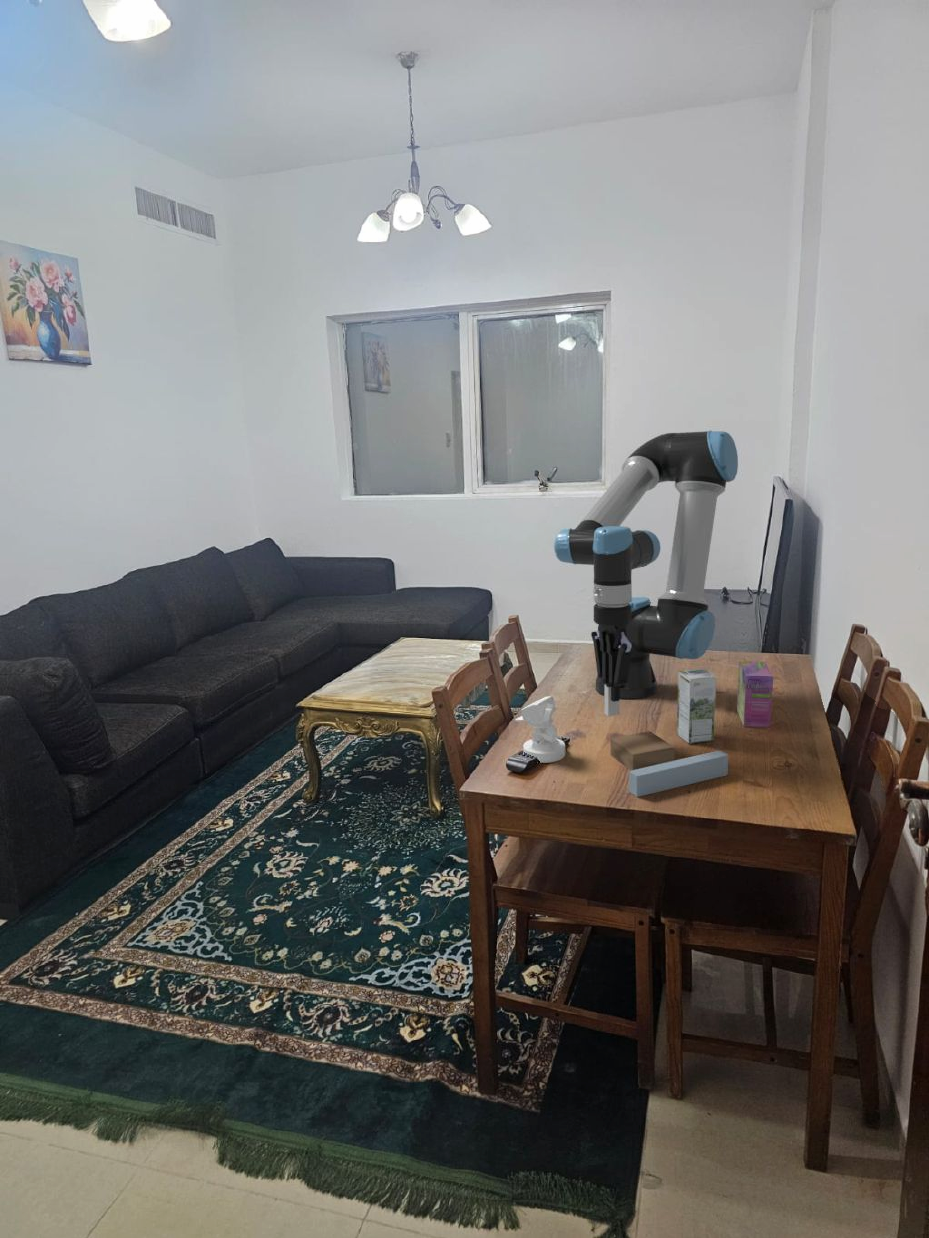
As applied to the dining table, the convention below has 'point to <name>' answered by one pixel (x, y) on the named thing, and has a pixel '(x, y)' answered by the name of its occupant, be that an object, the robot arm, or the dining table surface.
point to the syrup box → (696, 705)
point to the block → (641, 750)
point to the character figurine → (542, 731)
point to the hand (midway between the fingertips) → (611, 714)
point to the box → (754, 694)
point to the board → (678, 773)
